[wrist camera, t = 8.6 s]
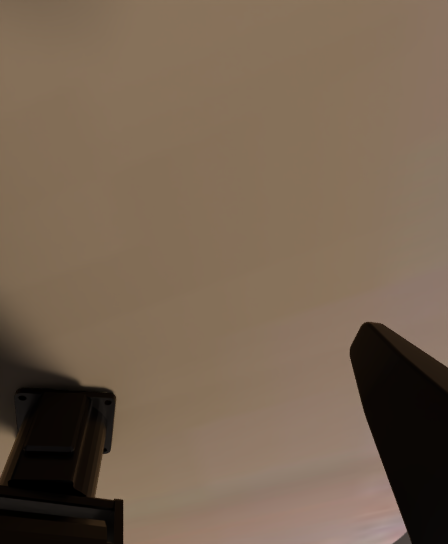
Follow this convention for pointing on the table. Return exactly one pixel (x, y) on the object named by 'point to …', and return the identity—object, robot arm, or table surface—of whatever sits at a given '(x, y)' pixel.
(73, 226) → the table surface
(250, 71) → the table surface
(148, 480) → the table surface
